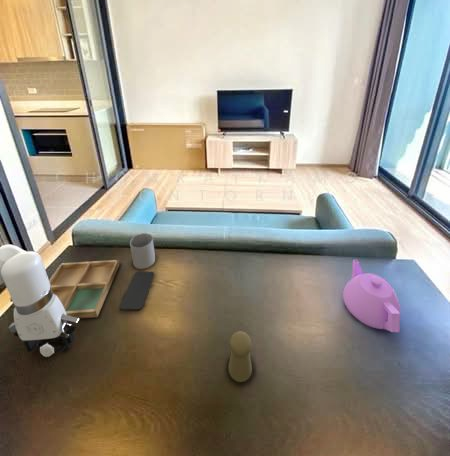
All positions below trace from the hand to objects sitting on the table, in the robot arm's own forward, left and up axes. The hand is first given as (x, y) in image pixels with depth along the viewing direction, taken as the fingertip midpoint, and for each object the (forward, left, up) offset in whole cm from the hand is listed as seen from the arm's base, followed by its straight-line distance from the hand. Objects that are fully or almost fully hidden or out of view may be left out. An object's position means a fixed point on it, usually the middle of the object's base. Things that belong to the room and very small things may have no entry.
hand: (52, 344), depth 68 cm
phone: (+19, +17, -2) cm, 25 cm away
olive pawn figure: (+51, -9, -2) cm, 52 cm away
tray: (-2, +19, -2) cm, 19 cm away
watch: (0, 0, -2) cm, 2 cm away
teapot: (+94, +4, -2) cm, 94 cm away
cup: (+18, +31, -2) cm, 36 cm away
